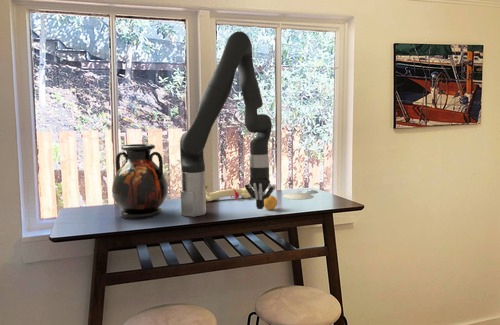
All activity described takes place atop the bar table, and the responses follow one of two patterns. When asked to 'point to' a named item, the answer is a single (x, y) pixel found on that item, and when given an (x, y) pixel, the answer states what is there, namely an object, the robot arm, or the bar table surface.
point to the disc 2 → (308, 192)
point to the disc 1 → (298, 196)
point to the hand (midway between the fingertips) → (260, 208)
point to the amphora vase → (139, 183)
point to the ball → (270, 202)
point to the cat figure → (227, 193)
